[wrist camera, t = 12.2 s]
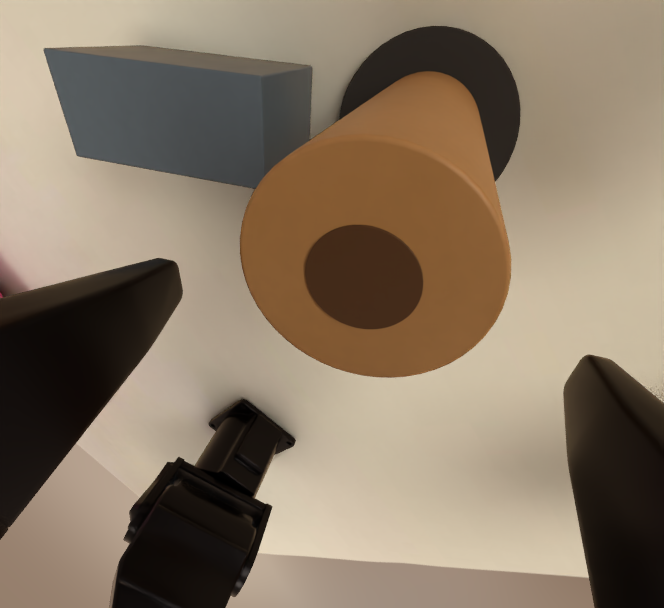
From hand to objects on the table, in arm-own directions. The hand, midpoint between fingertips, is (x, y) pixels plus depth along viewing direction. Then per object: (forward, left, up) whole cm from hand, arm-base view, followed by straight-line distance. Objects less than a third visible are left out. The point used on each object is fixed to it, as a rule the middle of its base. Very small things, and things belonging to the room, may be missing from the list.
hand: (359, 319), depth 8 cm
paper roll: (-2, -2, -10) cm, 11 cm away
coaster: (+1, +1, -13) cm, 13 cm away
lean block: (-5, +9, -13) cm, 16 cm away
